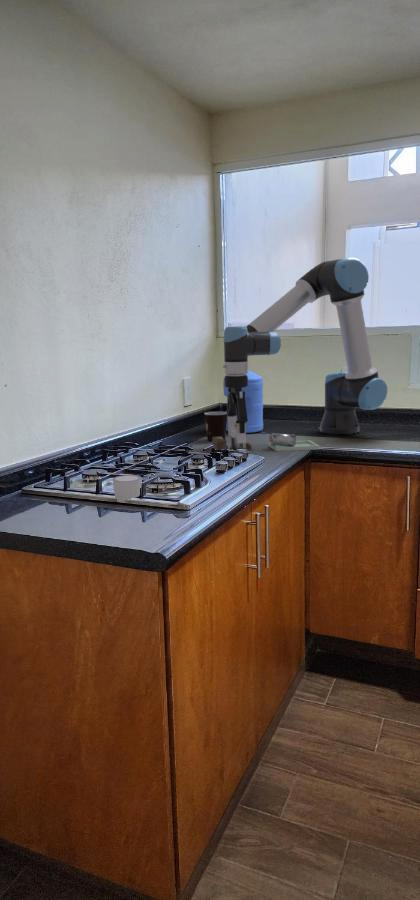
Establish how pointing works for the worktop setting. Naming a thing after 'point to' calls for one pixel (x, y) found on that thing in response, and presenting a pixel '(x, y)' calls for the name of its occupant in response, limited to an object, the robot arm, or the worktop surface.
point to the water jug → (252, 402)
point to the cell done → (282, 439)
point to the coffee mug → (215, 424)
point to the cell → (235, 438)
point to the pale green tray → (297, 446)
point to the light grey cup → (126, 487)
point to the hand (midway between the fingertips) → (236, 439)
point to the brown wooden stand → (221, 443)
